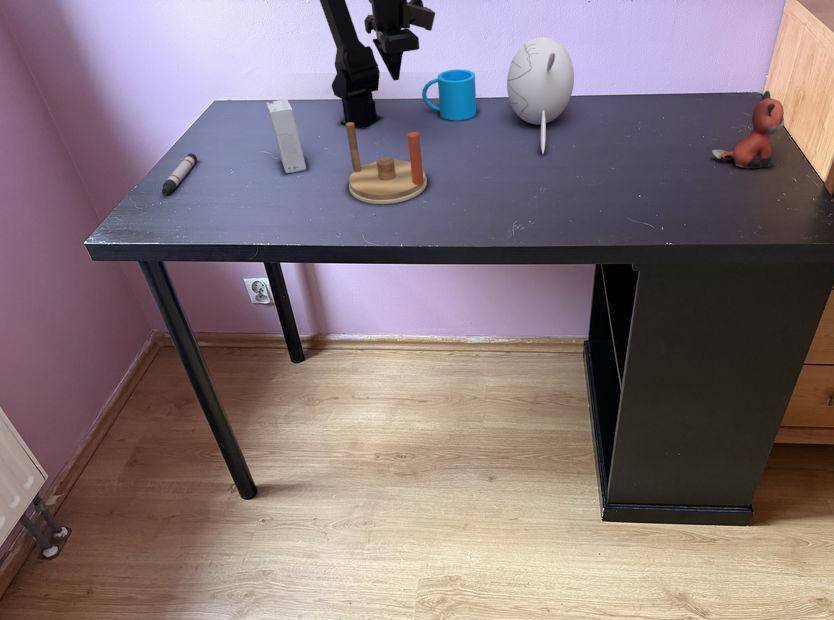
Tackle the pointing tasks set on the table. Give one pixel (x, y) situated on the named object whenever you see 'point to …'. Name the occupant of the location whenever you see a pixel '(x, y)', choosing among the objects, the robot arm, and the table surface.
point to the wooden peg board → (386, 171)
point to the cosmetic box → (286, 135)
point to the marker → (179, 173)
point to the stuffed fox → (757, 136)
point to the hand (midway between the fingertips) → (395, 79)
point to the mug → (454, 94)
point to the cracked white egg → (540, 82)
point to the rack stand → (389, 201)
